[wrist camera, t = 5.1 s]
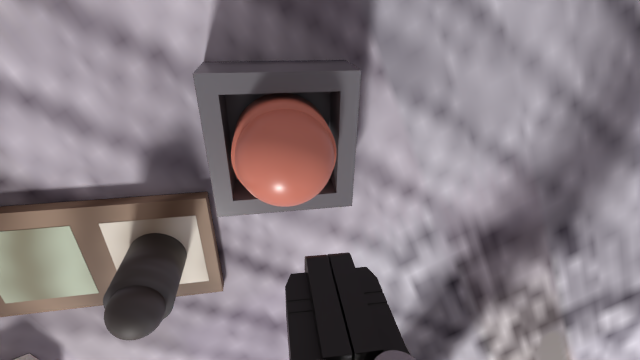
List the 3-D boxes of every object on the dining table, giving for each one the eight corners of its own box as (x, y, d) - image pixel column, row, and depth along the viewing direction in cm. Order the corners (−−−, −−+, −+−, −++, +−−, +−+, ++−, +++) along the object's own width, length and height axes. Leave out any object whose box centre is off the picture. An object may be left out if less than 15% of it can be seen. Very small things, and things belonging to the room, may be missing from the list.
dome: (328, 91, 21) (351, 119, 16) (326, 177, 24) (345, 224, 19) (228, 94, 20) (218, 125, 15) (239, 183, 23) (234, 234, 18)
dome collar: (345, 60, 23) (361, 70, 19) (340, 180, 27) (351, 205, 24) (203, 62, 21) (192, 73, 18) (222, 188, 26) (217, 217, 23)
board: (207, 191, 26) (205, 198, 25) (223, 283, 31) (222, 291, 30) (-55, 210, 23) (-67, 218, 22) (8, 307, 28) (0, 317, 27)
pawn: (181, 230, 26) (155, 305, 20) (191, 271, 28) (171, 351, 22) (121, 235, 25) (75, 314, 19) (136, 277, 27) (99, 360, 21)
